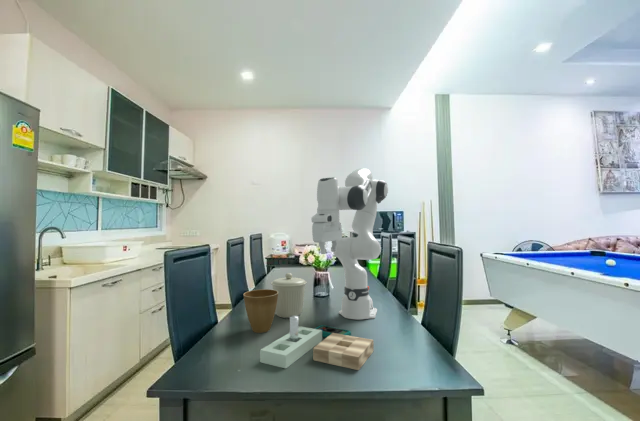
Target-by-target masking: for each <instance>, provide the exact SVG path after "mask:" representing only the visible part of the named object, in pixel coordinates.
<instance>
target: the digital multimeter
mask: <svg viewBox="0 0 640 421" xmlns="http://www.w3.org/2000/svg"><path fill="white" fill-rule="evenodd" d="M314 329H318V330H322V338H324V339H325V338H327V337H328V336H329V335H331V334H332V333H336V334H342V335H348V336H352V331H351V330H348V329H343V328H339V327H338V328H337V327H334V326H333V327H332V326H330V325H324V324H321V325H319V326H317V327H315V328H314Z"/></svg>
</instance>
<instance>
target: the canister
mask: <svg viewBox="0 0 640 421" xmlns="http://www.w3.org/2000/svg"><path fill="white" fill-rule="evenodd" d="M270 284H271V287H272V288H271V290H276V291H278V300H277V306H276V311H275V315H276V316H278V317H280V318H284V319H290V316H292V315H297V316H298V317H300V316H301V314H302V313H303V308H304V300H305V292H306V285H307V281H306V280H305V279H303V278H300V277H293V274H292V273H291V272H287V273H286V274H285V277H279V278H276V279H273V281H271V282H270Z"/></svg>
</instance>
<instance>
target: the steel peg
mask: <svg viewBox="0 0 640 421" xmlns="http://www.w3.org/2000/svg"><path fill="white" fill-rule="evenodd" d="M299 317H300V316H297V315H292V316H290V318H289V333H290V341H291V342H297V341H298V327H299V323H300V322H299Z"/></svg>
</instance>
